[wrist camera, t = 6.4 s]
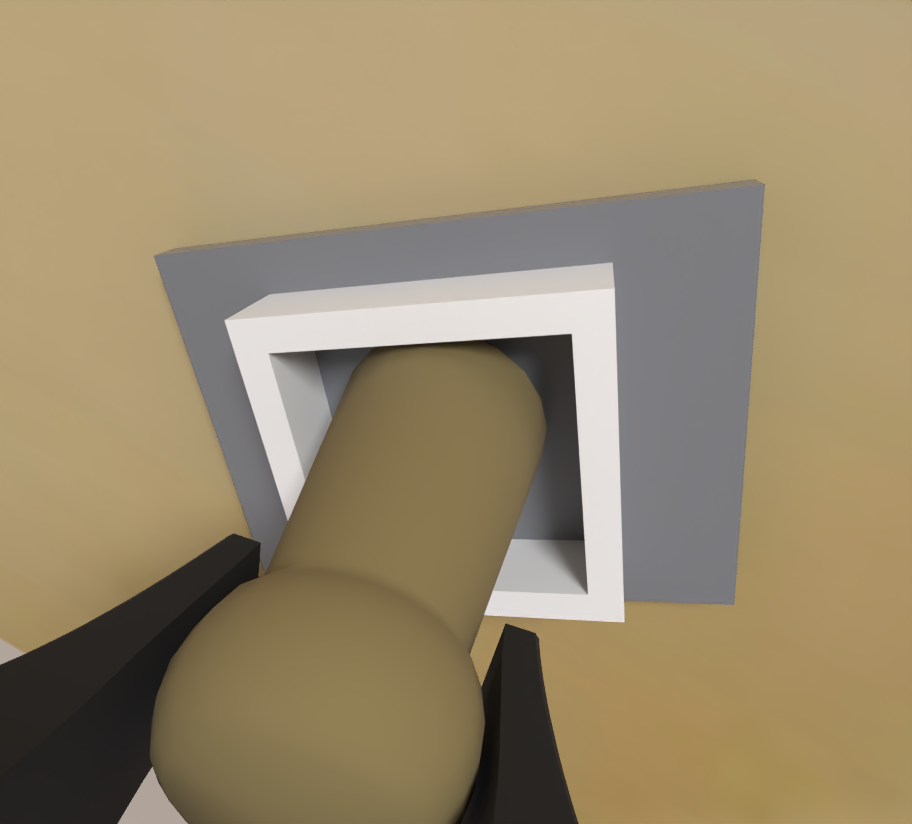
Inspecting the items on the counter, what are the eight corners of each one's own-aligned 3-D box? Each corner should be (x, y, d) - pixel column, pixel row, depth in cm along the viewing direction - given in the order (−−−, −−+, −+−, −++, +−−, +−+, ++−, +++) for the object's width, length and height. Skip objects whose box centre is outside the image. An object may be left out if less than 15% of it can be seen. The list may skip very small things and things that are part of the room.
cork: (576, 365, 16) (556, 807, 7) (514, 529, 19) (441, 981, 10) (358, 302, 16) (41, 639, 7) (333, 474, 19) (95, 862, 10)
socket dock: (728, 583, 21) (750, 667, 17) (281, 568, 25) (236, 633, 22) (754, 180, 15) (795, 198, 12) (173, 248, 19) (93, 276, 16)
